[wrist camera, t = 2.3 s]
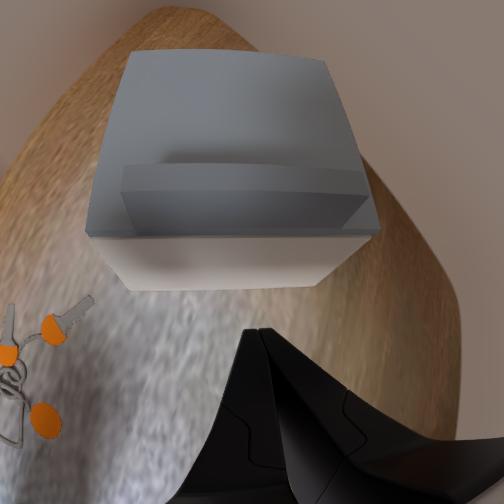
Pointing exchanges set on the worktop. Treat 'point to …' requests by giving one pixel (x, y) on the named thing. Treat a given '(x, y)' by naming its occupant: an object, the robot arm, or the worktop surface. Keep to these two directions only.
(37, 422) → the key chain
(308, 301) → the worktop surface
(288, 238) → the mailer box
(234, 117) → the lid
